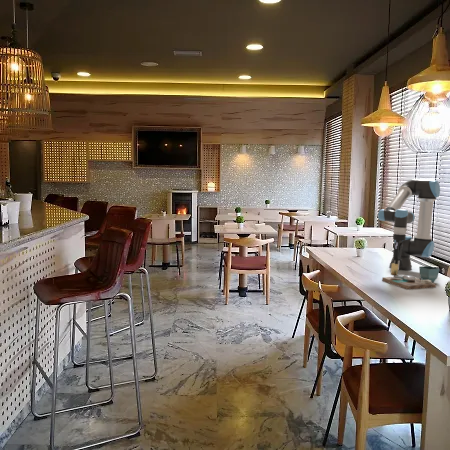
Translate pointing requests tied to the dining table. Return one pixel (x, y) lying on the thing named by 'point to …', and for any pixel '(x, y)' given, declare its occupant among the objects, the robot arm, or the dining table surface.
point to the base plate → (409, 283)
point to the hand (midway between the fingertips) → (396, 270)
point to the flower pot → (429, 273)
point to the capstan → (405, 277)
